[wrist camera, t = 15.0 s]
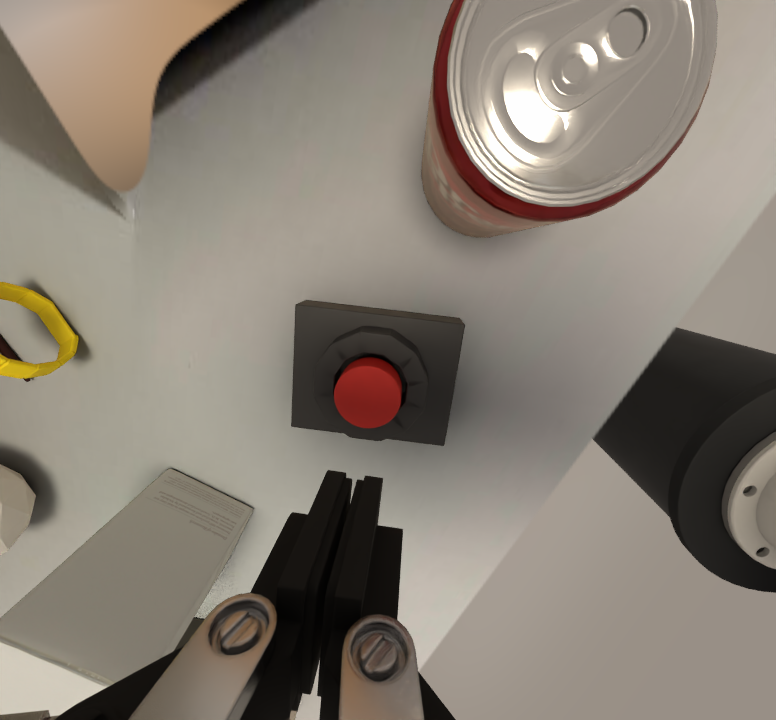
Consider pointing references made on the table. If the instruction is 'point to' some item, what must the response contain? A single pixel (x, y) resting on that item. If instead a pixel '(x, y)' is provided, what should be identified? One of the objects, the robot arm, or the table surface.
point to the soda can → (558, 106)
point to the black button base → (384, 341)
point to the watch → (52, 322)
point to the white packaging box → (118, 596)
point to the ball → (13, 507)
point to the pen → (8, 353)
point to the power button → (368, 392)
